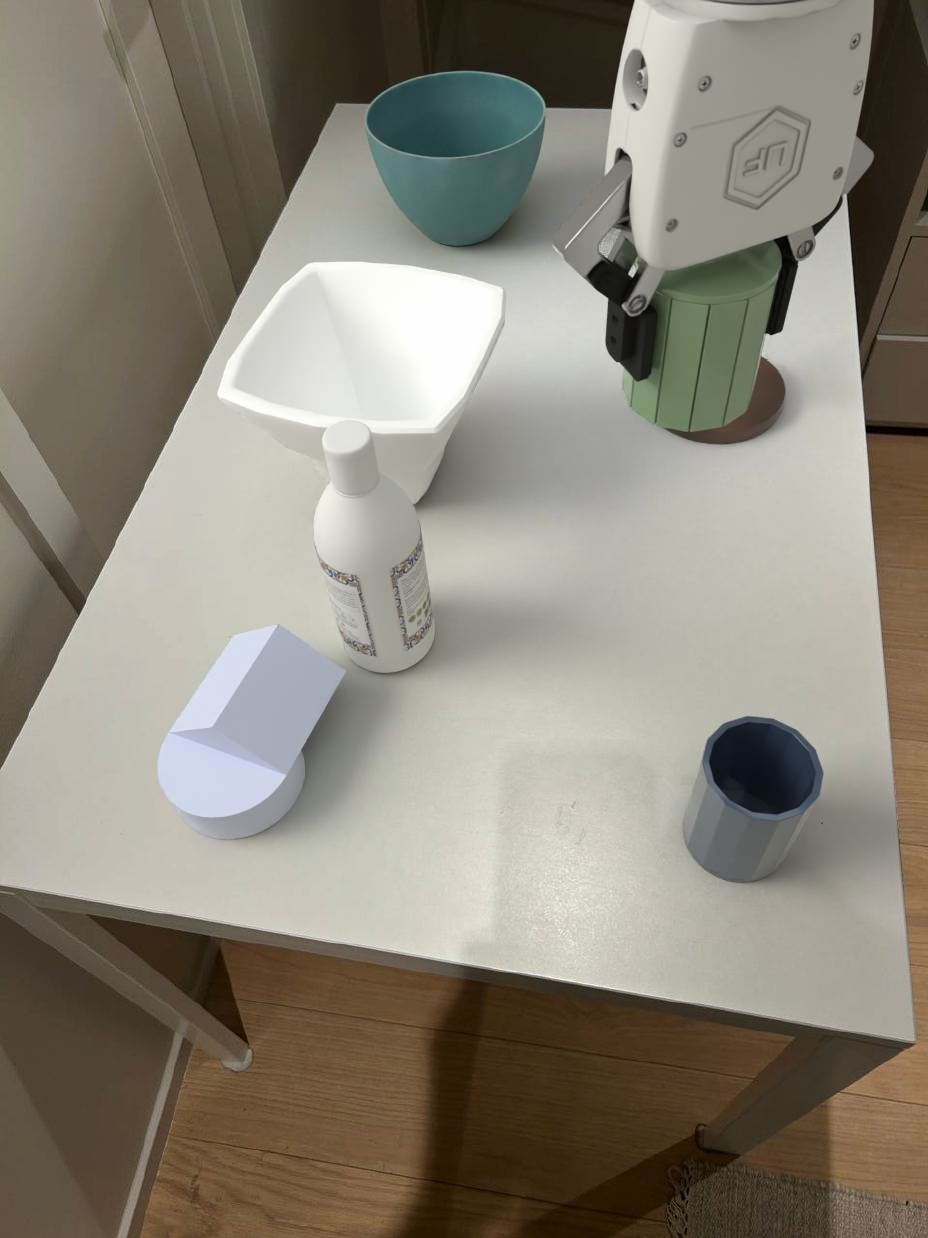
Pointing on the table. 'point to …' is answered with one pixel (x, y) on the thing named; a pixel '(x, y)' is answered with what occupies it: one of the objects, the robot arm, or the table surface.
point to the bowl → (367, 361)
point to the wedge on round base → (247, 734)
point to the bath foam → (372, 556)
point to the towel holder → (749, 411)
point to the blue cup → (750, 798)
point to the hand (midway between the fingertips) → (695, 340)
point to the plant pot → (457, 150)
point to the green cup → (707, 340)
